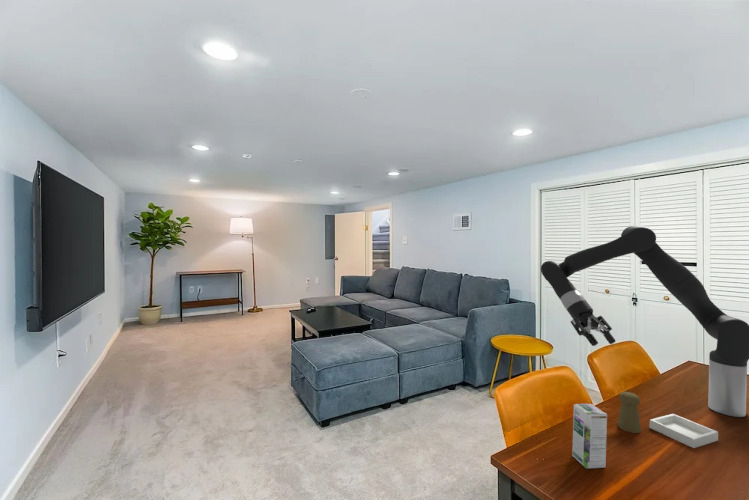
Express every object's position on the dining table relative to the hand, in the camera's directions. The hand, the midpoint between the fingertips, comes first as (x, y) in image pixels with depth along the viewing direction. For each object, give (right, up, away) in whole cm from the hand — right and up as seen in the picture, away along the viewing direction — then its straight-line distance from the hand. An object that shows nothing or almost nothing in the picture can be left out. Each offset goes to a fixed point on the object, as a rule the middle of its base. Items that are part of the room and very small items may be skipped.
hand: (604, 343), depth 119 cm
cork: (+1, -24, -10) cm, 26 cm away
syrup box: (-23, -24, -27) cm, 43 cm away
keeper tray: (+15, -24, -14) cm, 31 cm away
